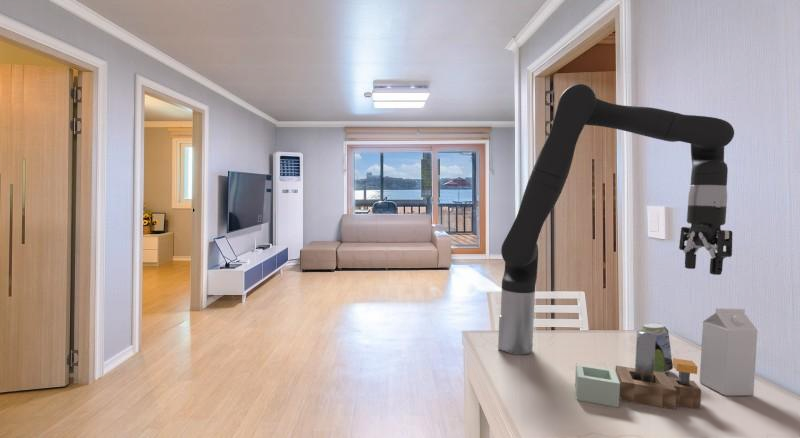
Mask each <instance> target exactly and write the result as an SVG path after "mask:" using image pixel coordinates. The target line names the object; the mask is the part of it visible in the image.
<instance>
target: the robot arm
mask: <svg viewBox="0 0 800 438" xmlns="http://www.w3.org/2000/svg"><path fill="white" fill-rule="evenodd" d="M585 126H594V127H604V128H610V129H615V130H619V131H622V132H623V131H624V132H627V133H632V134H636V135H639V136H644V137H647V138H652V139H655V140H659V141H664V142H669V143H670V142H671V143H675V142H682V143H687V144H690V155H691V157H690V158H691V165H692V166H691V167H692V168H691V173H690V174H691V175H690V187H689V192H688V197H687V198H688V199H687V211H686V212H687V213H686V214H687V215H686V222H687V224H691V225H690V227H689V226H682V227H681V228H680V237H679V245H678V246H679V247H678V249H679V250H680V251H683V253H684V255H685V256H684V268H685V269H689V270H690V269H691V270H695V269H696V268H697V267H696V265H697V263H696V262H697V252H698V251H699V249H702V248H703V247H704V249H706V251H708V253H709V255H710V257H711V258H710V261H709V263H710V264H709V274H710V275H713V276H716V275H717V276H720V275H721V274H722V272H723V264H724V259H725V258H731V257H732V255H733V231H732V230H728V229H727V230H724V229H723V230H722V229H721V226H724V225H725V224H726V222H727V221H726V219H727V217H726V216H727V204H728V188H727V187H728V164H727V163H726V162H725V147H726V146H727V145H729V144H730V143H731V142H732V141H733V138H734V135H735V129H734V127H733V125H732V124H731V123H730V122H729V121H727V120H725V119H722V118H718V117H714V116H706V115H704V116H703V115H695V114H684V113H679V112H674V111H671V110H666V109H661V108H657V107H648V106H636V105H635V106H632V105H622V104H616V103H611V102H608V101H604V100H603V99H599V98H597V96H596V93H595V91H594V90H593V89H592V88H591V87H590V86H588V85H586V84H581V83H578V84H577V83H576V84H573V85H571V86H569V87H568V88H566V89H565V90H564V91H563V92H562V94H561V95H560V97H559V99H558V103H557V107H556V110H555V114H554V118H553V121H552V125H551V128H550V131H549V133H548V136H547V138H546V139H545V142H544V144H543V146H542V148H541V151H540V152H539V154H538V156H537V159H536V161H535V164H534V165H533V168H532V171H531V173H530V174H529V175H530V176H529V179H528V181H527V182H526V183H527V184H526V186H525V190H524V192H523V195H522V198H521V202H520V204H519V209H518V212H517V214H516V216H515V219H514V221H513V224H512V225H511V227H510V229H509V231H508V233H507V235H506V236H505V238H504V240H503V243H502V245H501V252H500V253H501V257H502V259H503V261H504V272H503V277H502V280H501V293H500V294H501V297H500V315H499V319H498V338H497V339H498V340H497V350H499V351H503V352H506V353H509V354H513V355H528V354H531V353H532V352H533V346H534V343H533V342H534V341H533V340H534V320H535V300H536V299H535V298H536V286H537V285H536V283H537V279H538V278H537V277H538V266H539V265H538V263H539V246H538V240H539V237H540V233H541V231H542V228H543V225H544V224H545V222H546V220H547V218H548V217H549V215H550V214H551V212H552V211H553V209H554V207H555V205H556V204H557V202H558V200H559V198H560V196H561V193H562V191H563V189H564V186H565V184H566V183H567V182H566V181H567V179H568V176H569V173H570V171H571V166H572V163H573V160H574V155H575V150H576V147H577V142H578V141H579V138H580V135H581V133H582V131H583V129H584V127H585ZM724 248H725V251H724Z"/></svg>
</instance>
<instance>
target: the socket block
mask: <svg viewBox="0 0 800 438" xmlns="http://www.w3.org/2000/svg"><path fill="white" fill-rule="evenodd" d="M614 370H615V372H616V375H617V377H618V380H619V382H620V391H619V399H620V400H621V401H625V402H630V403H635V404H643V405H647V406H653V407H659V408H665V409H669V410H670V409H671V410H676V406H679V407H686V408H691V409H696V410H697V409H698V410H701V401H702V390H701V388H700V387H699V386H698V384H697V383H696V382H695V380H691V379H690V380H689V386H685V385H679V384H678V378H676V377H672V376H671V377H669V376H668V375H666V372H665V373H662V372H656V371H654V378H653V383H652V382H645V381H639V380H634V378H635V367H627V366H621V365H615V369H614Z"/></svg>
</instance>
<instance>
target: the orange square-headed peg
mask: <svg viewBox="0 0 800 438" xmlns="http://www.w3.org/2000/svg"><path fill="white" fill-rule="evenodd" d="M672 364H673V368H674V369H675V371H676V372H678V384H679V385H685V386H689V380H691V379H690V376H691V375H690V374H694V375H698V366H697V364H696V363H695V362H694V361H693V360H688V359H682V358H674V357H673V358H672Z"/></svg>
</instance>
